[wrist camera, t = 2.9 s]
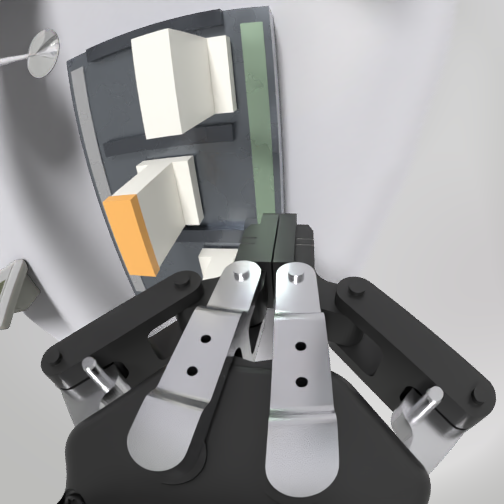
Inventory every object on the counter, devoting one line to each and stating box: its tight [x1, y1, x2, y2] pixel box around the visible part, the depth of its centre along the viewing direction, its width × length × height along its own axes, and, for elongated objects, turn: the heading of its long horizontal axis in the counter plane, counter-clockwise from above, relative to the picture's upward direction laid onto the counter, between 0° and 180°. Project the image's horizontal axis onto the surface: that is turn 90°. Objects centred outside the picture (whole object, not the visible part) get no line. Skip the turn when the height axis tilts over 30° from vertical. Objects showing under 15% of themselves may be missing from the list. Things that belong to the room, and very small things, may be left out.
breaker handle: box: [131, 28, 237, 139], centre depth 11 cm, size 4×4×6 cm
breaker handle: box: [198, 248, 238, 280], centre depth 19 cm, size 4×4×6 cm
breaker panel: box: [67, 6, 284, 308], centre depth 19 cm, size 14×22×4 cm, turn 5°
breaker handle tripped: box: [103, 155, 204, 277], centre depth 16 cm, size 4×4×6 cm
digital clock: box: [0, 259, 40, 330], centre depth 31 cm, size 16×9×11 cm, turn 101°
